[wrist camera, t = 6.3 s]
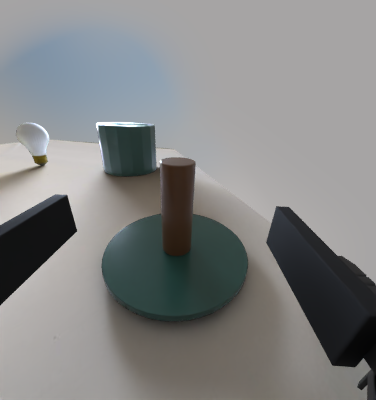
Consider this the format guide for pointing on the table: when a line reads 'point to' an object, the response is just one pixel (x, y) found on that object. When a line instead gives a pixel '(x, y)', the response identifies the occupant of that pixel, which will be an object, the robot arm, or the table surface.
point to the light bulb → (34, 141)
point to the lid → (175, 256)
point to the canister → (127, 148)
